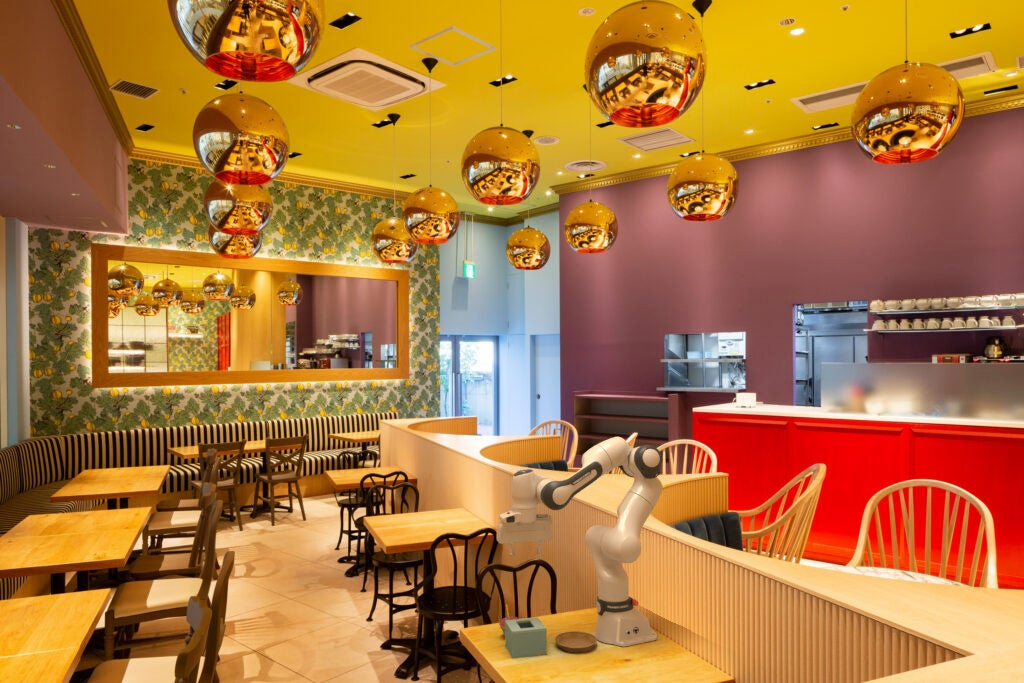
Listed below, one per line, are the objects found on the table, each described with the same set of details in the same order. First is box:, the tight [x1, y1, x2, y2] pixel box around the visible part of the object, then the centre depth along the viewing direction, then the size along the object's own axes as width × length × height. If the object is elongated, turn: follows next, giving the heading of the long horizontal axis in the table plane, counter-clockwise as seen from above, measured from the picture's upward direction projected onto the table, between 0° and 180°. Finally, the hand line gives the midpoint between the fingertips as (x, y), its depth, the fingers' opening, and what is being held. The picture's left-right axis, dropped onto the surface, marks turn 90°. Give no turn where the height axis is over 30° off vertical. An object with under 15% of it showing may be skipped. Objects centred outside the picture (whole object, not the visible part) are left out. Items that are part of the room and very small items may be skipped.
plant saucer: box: [554, 630, 598, 653], centre depth 236 cm, size 15×15×3 cm
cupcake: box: [498, 602, 520, 638], centre depth 245 cm, size 9×8×12 cm
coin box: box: [504, 616, 548, 659], centre depth 233 cm, size 12×11×9 cm
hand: (524, 554), depth 242 cm, fingers open, 8 cm apart
